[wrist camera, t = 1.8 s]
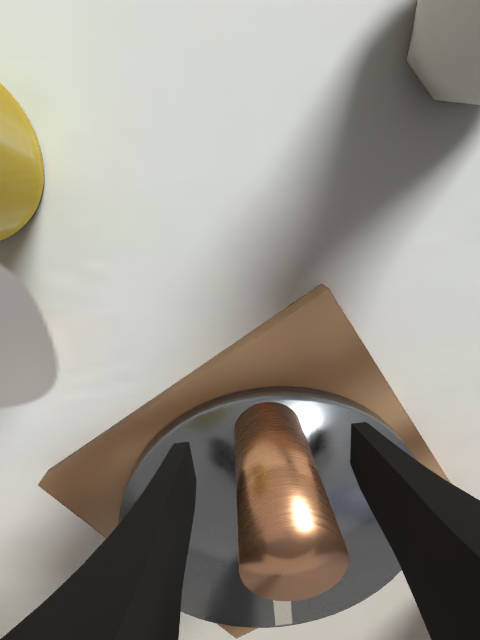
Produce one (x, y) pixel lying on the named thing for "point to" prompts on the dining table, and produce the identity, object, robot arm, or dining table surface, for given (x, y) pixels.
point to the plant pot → (17, 167)
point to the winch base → (228, 377)
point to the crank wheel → (274, 507)
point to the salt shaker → (447, 49)
